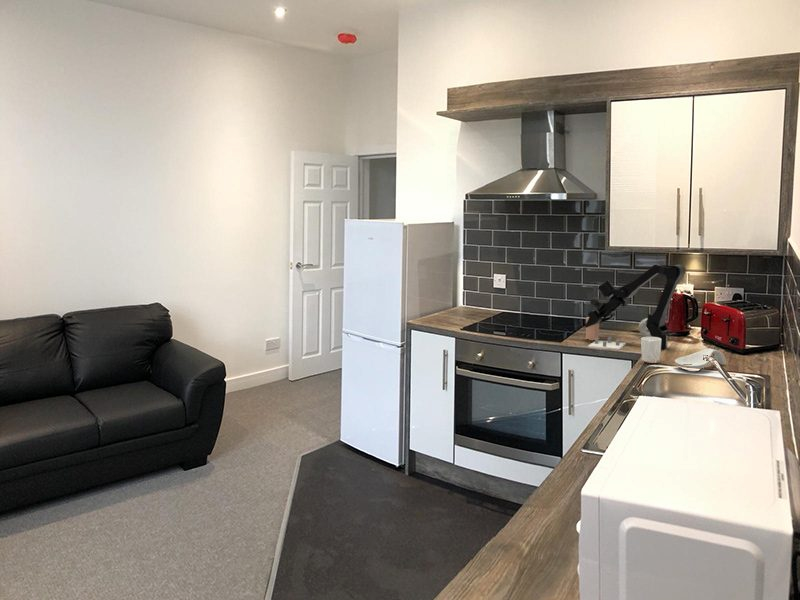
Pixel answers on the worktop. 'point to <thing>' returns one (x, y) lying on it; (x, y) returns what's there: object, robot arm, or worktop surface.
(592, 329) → the terracotta block
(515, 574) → the worktop surface
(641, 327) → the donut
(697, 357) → the spoon rest
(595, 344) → the peg board
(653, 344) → the white cup
